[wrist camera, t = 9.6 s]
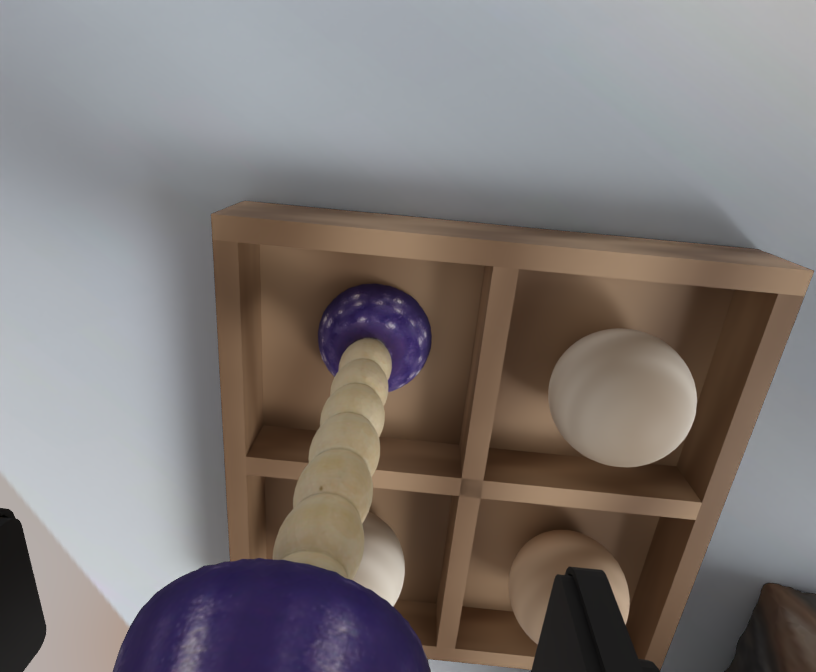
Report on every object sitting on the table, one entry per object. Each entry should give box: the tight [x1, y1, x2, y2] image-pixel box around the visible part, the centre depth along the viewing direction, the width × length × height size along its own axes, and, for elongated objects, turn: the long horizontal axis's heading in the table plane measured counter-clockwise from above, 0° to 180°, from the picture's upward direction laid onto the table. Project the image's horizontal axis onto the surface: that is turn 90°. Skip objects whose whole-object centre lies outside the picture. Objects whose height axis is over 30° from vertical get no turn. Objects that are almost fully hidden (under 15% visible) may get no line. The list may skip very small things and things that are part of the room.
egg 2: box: [548, 328, 697, 467], centre depth 18 cm, size 5×5×5 cm
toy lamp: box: [113, 284, 432, 672], centre depth 12 cm, size 5×5×17 cm
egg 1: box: [353, 512, 405, 607], centre depth 21 cm, size 5×5×5 cm
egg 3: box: [508, 530, 630, 645], centre depth 21 cm, size 5×5×5 cm
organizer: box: [211, 201, 814, 670], centre depth 21 cm, size 18×18×3 cm
